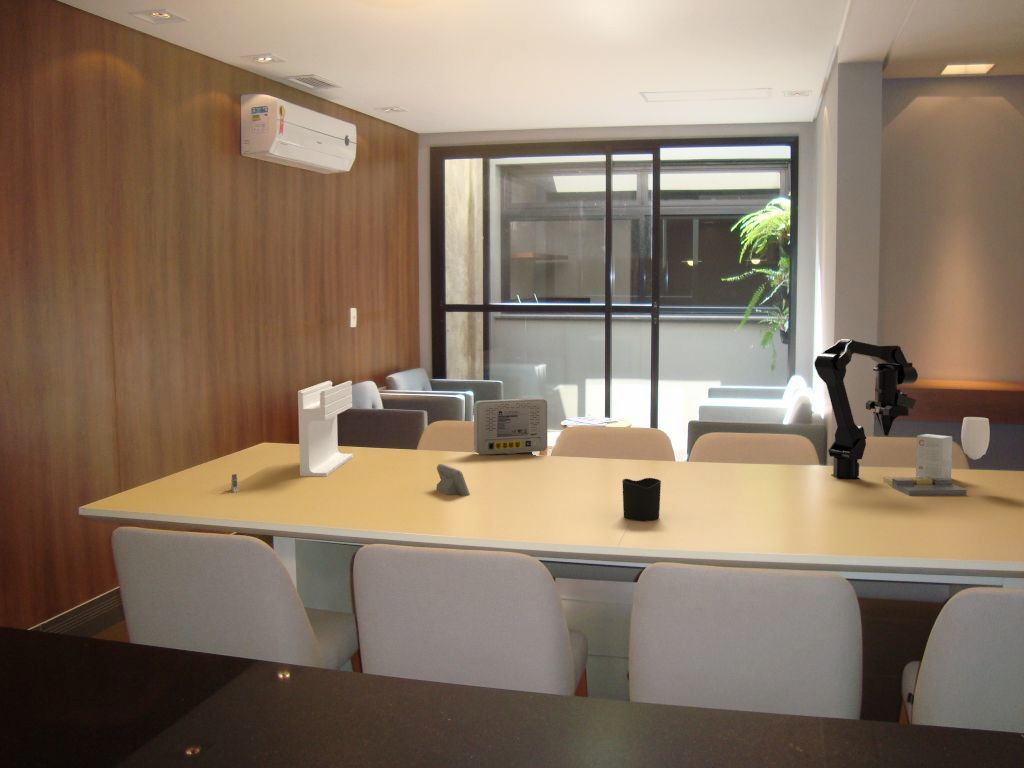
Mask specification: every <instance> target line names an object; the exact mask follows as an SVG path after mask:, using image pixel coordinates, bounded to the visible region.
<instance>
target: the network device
mask: <svg viewBox="0 0 1024 768" xmlns="http://www.w3.org/2000/svg"><path fill="white" fill-rule="evenodd" d="M547 448H548V401H547V400H546V399H543V398H541V397H539V398H537V397H536V398H513V399H512V398H511V399H509V398H508V399H492V400H491V399H490V400H488V399H487V400H477V401H475V402H474V403H473V450H474V452H475V453H477V454H479V455H480V456H481V455H484V456H485V455H499V454H506V455H516V454H517V453H528V452H529V453H531V452H532V453H533V452H534V453H535V452H545V451H546V450H547Z"/></svg>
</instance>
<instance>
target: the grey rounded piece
mask: <svg viewBox="0 0 1024 768" xmlns="http://www.w3.org/2000/svg"><path fill="white" fill-rule="evenodd" d="M989 420H990V419H989V418H986V417H982V416H981V417H980V416H966V417H963V420H962V425H961V434H960V438H961V439H960V440H961V446H962V450H963V453H964V454H966V456H967V457H968V458H969V459H971V460H978V459H981V458H982V456H983V455H984V456H985V455H986V453H987V450H988V448H989V444H990V438H991V437H990V434H991V433H990V432H991V431H990V430H991V429H990V421H989Z"/></svg>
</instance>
